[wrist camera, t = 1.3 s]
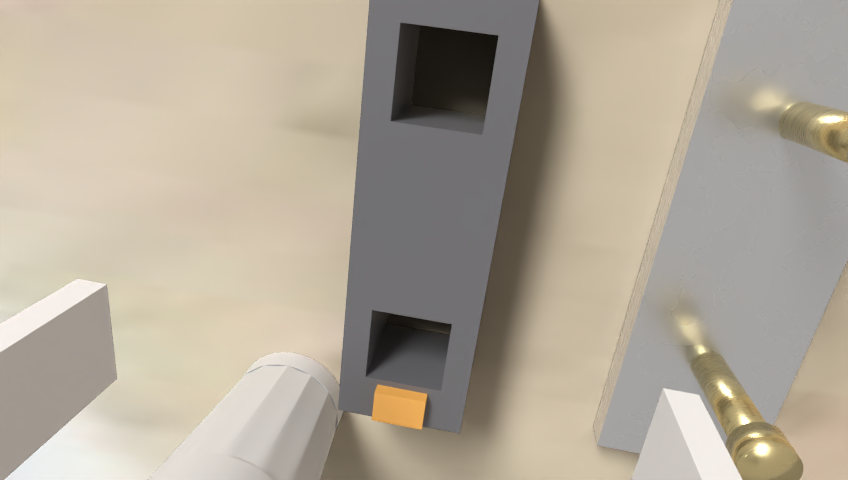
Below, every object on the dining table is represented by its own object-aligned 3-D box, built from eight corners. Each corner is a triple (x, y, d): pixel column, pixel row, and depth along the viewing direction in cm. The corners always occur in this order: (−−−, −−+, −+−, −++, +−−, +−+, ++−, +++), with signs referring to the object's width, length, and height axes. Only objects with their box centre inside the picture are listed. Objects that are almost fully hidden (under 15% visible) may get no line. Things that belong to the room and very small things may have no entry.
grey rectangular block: (466, 372, 31) (458, 442, 26) (362, 353, 31) (334, 417, 26) (537, -18, 23) (545, -30, 18) (398, -34, 24) (369, -52, 19)
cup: (275, 314, 31) (148, 471, 20) (383, 397, 32) (319, 591, 21) (207, 396, 34) (63, 574, 23) (308, 470, 35) (217, 674, 24)
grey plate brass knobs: (739, 454, 30) (820, 601, 23) (593, 426, 31) (621, 560, 23) (946, -24, 21) (1198, -54, 14) (734, -49, 22) (858, -91, 14)
